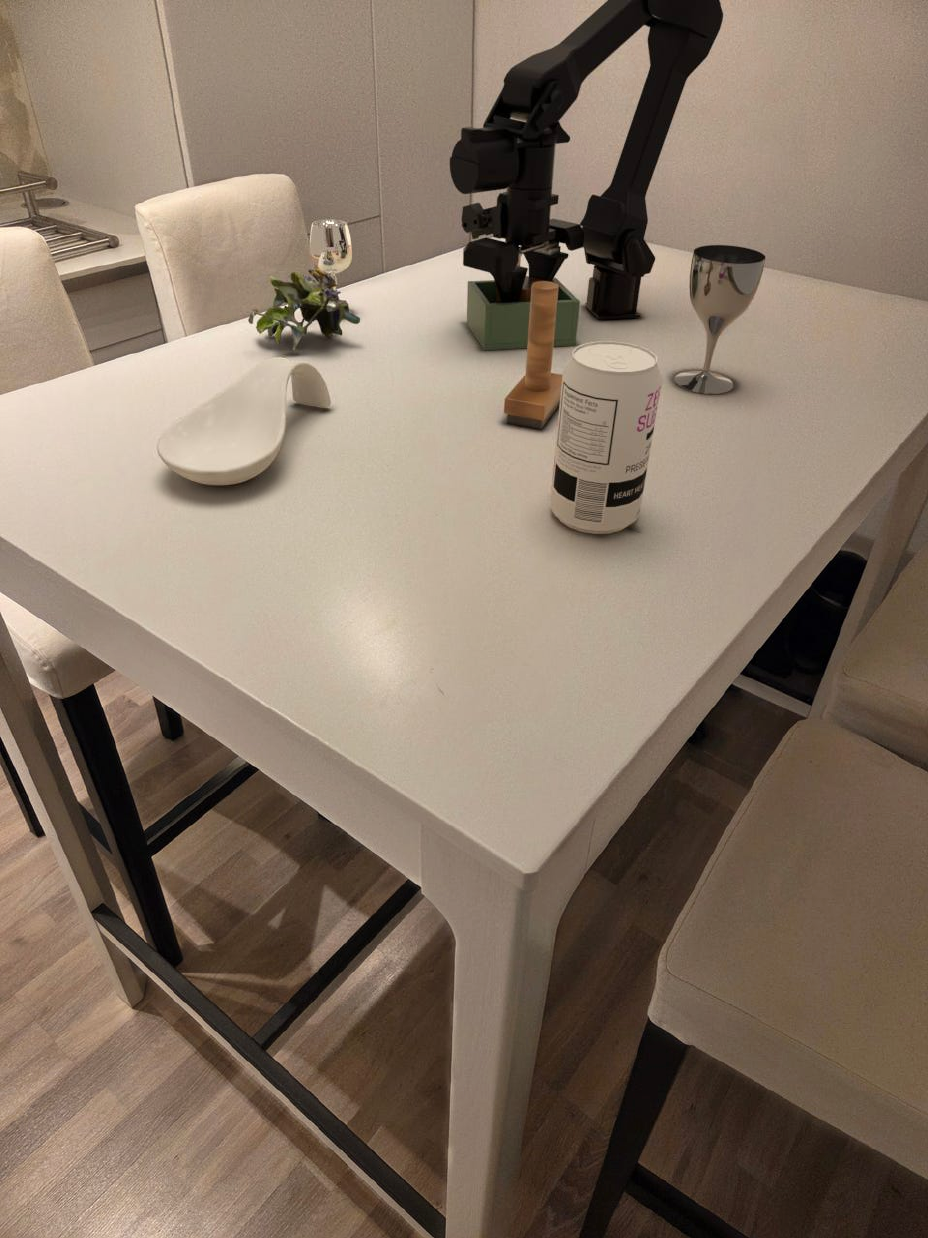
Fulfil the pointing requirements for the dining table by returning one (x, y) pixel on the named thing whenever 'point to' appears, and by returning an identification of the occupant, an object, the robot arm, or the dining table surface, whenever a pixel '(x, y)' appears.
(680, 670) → the dining table surface
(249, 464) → the spoon rest
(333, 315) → the passion flower
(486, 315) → the bin
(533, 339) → the stamp
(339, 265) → the wineglass
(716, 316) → the wine glass
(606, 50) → the robot arm
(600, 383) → the supplement can
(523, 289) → the block
